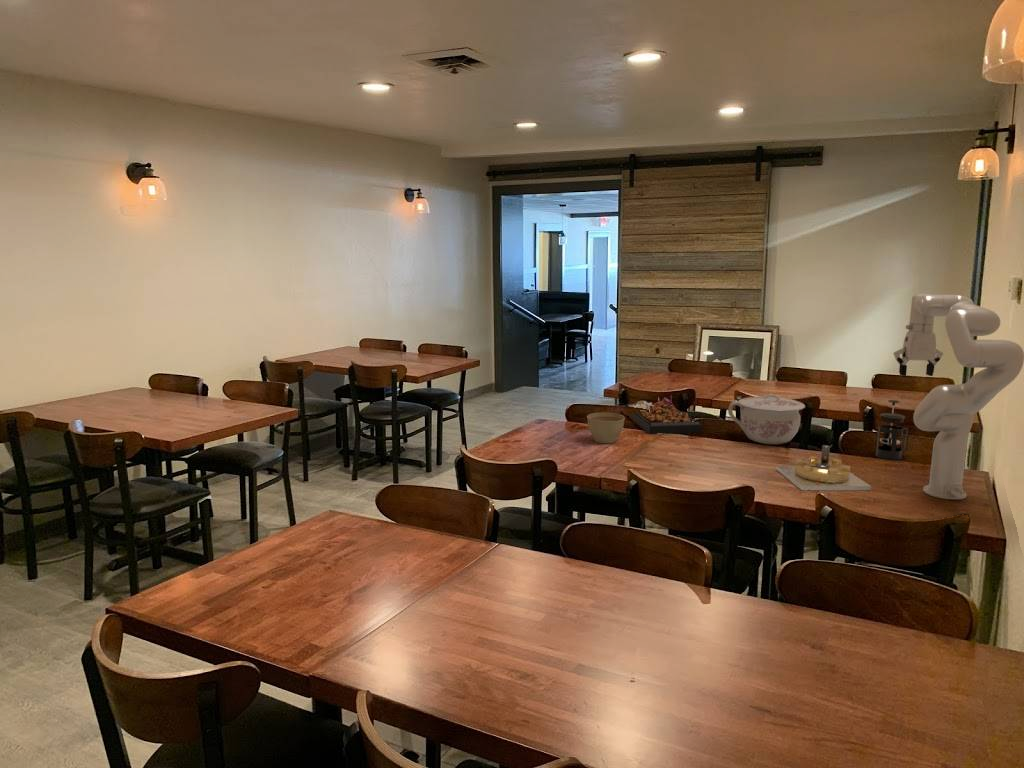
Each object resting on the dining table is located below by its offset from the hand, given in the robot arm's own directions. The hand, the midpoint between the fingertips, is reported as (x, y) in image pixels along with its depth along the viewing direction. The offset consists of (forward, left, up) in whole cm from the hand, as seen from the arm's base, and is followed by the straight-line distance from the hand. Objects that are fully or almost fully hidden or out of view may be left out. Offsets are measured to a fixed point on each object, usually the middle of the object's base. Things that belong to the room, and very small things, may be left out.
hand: (916, 375), depth 261 cm
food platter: (+81, +75, -38) cm, 117 cm away
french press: (+21, -5, -37) cm, 43 cm away
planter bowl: (+46, +106, -37) cm, 121 cm away
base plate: (-8, +35, -37) cm, 51 cm away
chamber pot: (+46, +35, -37) cm, 69 cm away
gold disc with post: (-8, +35, -35) cm, 50 cm away
